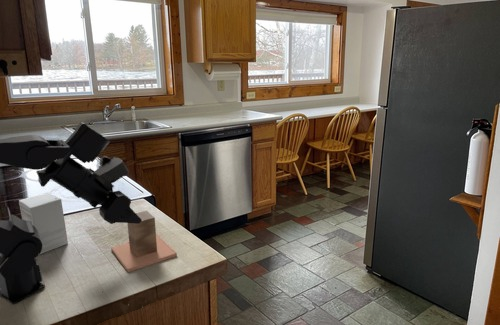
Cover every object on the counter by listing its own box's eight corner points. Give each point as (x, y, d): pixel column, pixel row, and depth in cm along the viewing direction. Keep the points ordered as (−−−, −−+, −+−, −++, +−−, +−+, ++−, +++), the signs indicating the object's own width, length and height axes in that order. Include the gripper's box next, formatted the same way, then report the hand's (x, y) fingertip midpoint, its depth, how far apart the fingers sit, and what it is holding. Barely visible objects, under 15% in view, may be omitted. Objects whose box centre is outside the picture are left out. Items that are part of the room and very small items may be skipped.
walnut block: (137, 257, 87) (134, 223, 85) (129, 249, 91) (126, 215, 89) (157, 251, 90) (154, 217, 88) (149, 243, 94) (146, 210, 91)
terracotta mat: (128, 272, 83) (127, 269, 82) (111, 250, 92) (111, 247, 92) (176, 255, 90) (176, 252, 89) (156, 236, 99) (156, 234, 99)
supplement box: (55, 235, 99) (48, 191, 96) (68, 244, 95) (62, 198, 91) (26, 245, 94) (17, 199, 90) (38, 255, 89) (30, 207, 86)
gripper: (116, 158, 72) (171, 199, 81) (90, 140, 86) (140, 177, 96) (78, 205, 69) (139, 241, 79) (58, 179, 84) (112, 212, 93)
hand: (133, 214), depth 87 cm, fingers open, 9 cm apart
